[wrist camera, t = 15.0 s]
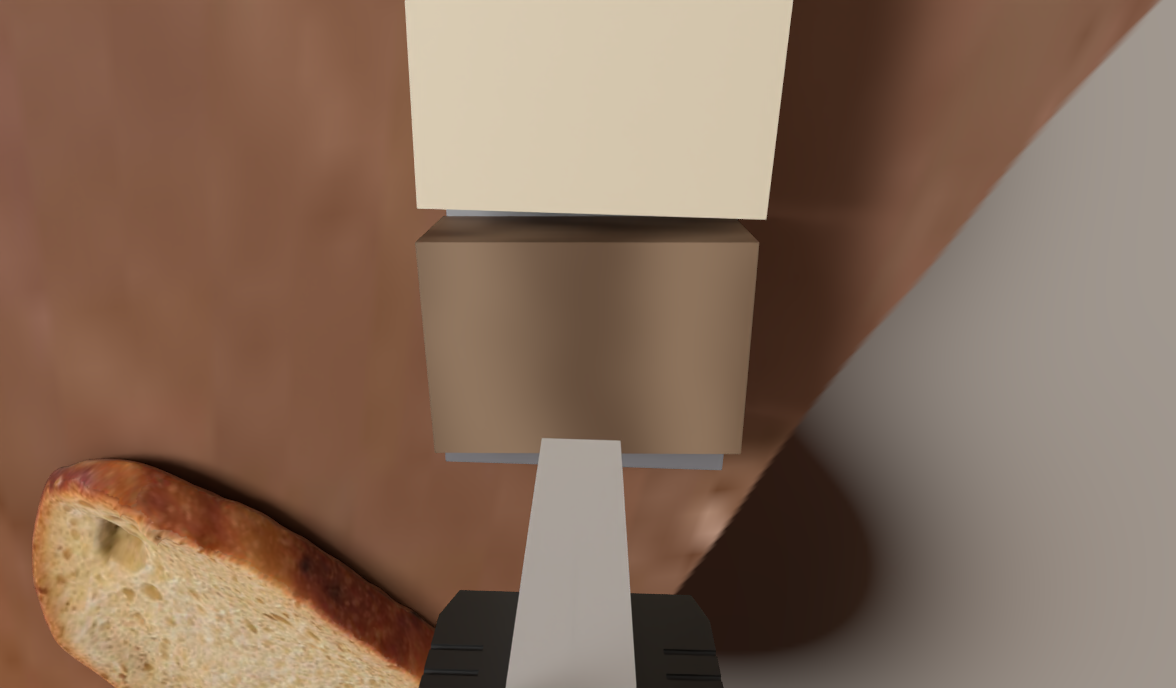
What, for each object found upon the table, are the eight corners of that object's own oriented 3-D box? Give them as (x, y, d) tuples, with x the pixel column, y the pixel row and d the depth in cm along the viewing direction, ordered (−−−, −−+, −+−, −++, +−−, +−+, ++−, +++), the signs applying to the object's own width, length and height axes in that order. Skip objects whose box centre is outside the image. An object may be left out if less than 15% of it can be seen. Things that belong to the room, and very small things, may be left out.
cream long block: (460, 422, 28) (433, 492, 23) (430, -324, 20) (378, -448, 15) (709, 430, 28) (731, 502, 23) (787, -313, 20) (846, -434, 15)
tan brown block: (457, 399, 27) (434, 452, 23) (443, 216, 24) (415, 242, 20) (720, 400, 26) (740, 454, 23) (734, 216, 24) (759, 242, 20)
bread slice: (507, 729, 35) (497, 802, 31) (162, 760, 36) (115, 835, 32) (427, 408, 28) (403, 455, 25) (11, 458, 29) (-68, 510, 26)
